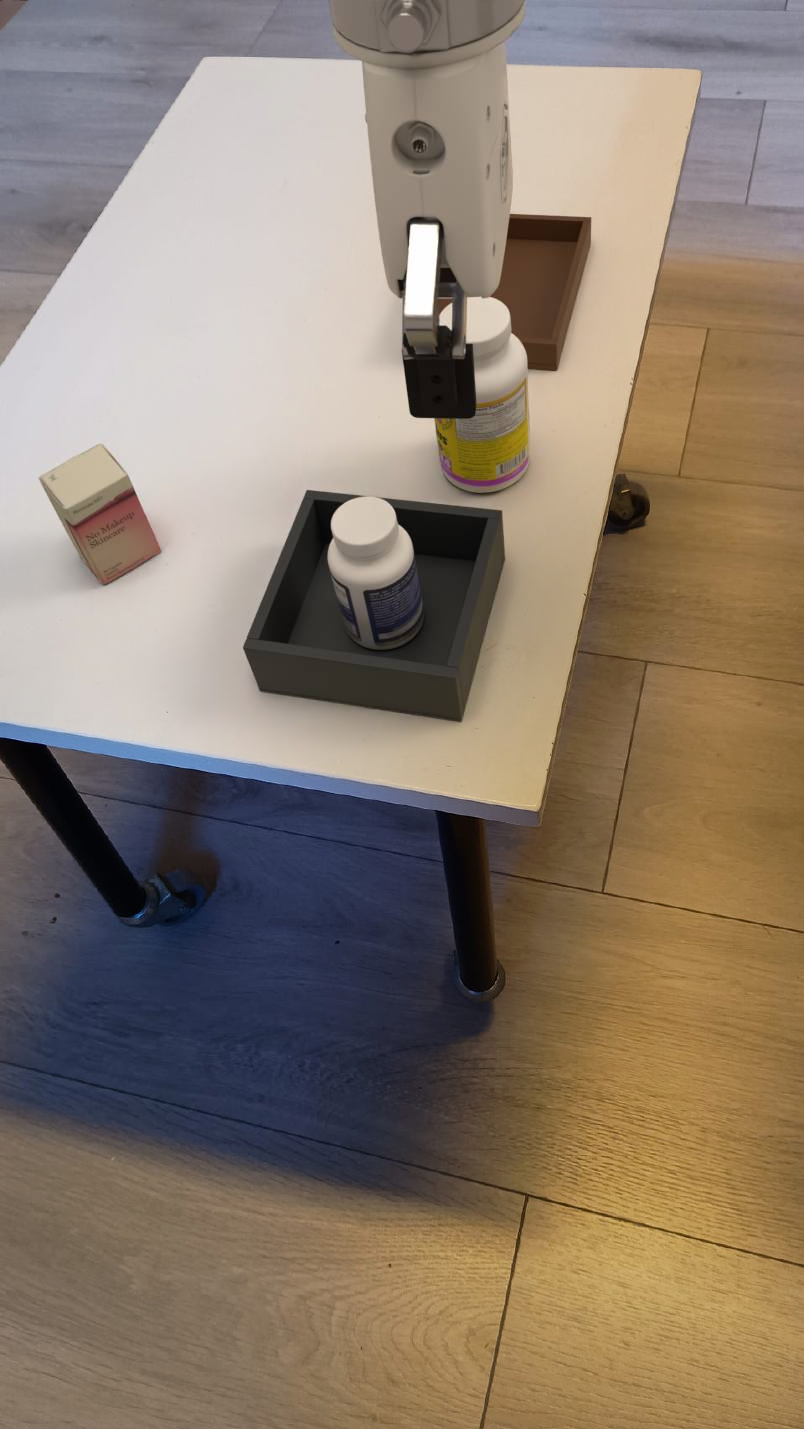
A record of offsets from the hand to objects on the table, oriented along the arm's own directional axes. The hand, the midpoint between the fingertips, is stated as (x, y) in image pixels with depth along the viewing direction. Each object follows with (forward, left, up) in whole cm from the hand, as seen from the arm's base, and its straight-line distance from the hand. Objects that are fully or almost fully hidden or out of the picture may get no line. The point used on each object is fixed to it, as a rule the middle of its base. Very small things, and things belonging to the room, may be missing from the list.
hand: (454, 347), depth 56 cm
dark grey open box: (+5, -4, -22) cm, 22 cm away
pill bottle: (+5, -4, -21) cm, 22 cm away
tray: (-22, -24, -22) cm, 39 cm away
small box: (+16, -22, -22) cm, 35 cm away
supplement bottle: (-9, -10, -22) cm, 26 cm away
